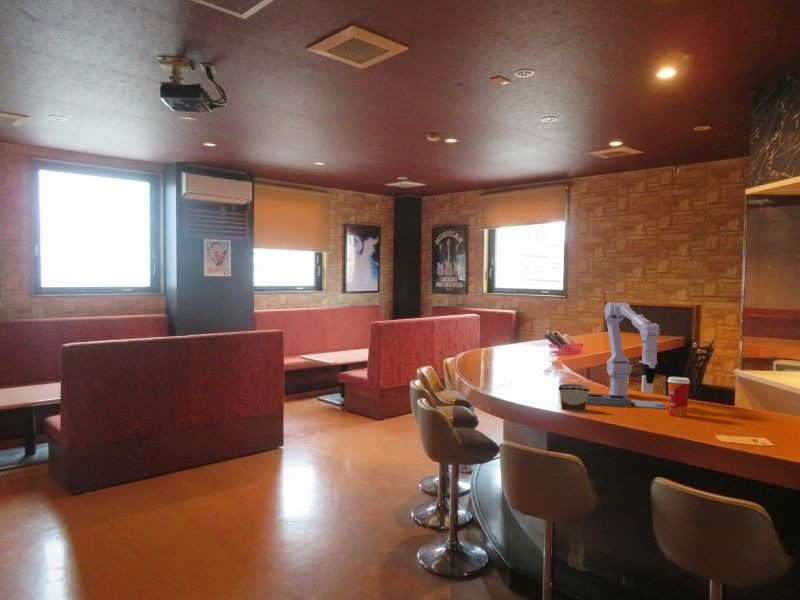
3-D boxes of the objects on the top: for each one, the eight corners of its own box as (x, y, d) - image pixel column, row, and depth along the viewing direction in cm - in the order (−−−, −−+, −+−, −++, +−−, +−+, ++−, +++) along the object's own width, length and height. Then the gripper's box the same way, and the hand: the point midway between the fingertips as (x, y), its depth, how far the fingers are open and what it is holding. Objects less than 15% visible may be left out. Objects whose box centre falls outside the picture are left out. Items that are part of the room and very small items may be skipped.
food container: (588, 408, 228) (588, 384, 228) (589, 411, 223) (589, 387, 222) (557, 406, 232) (558, 383, 232) (558, 409, 226) (558, 385, 226)
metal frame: (580, 399, 246) (580, 392, 246) (627, 402, 241) (627, 395, 241) (581, 403, 237) (581, 397, 237) (630, 406, 231) (631, 399, 231)
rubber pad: (631, 401, 242) (631, 400, 242) (660, 403, 239) (660, 401, 239) (635, 407, 231) (635, 405, 231) (666, 409, 228) (666, 407, 228)
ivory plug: (641, 390, 238) (642, 375, 237) (651, 391, 237) (652, 375, 236) (642, 392, 234) (643, 376, 234) (652, 393, 233) (653, 377, 232)
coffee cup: (667, 412, 222) (668, 375, 222) (690, 414, 218) (690, 377, 218) (665, 416, 215) (666, 378, 215) (689, 419, 211) (689, 380, 211)
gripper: (636, 349, 243) (636, 379, 243) (642, 352, 229) (641, 384, 229) (654, 349, 241) (653, 380, 241) (660, 353, 227) (659, 385, 227)
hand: (648, 382), depth 235 cm, fingers closed on ivory plug, 4 cm apart
